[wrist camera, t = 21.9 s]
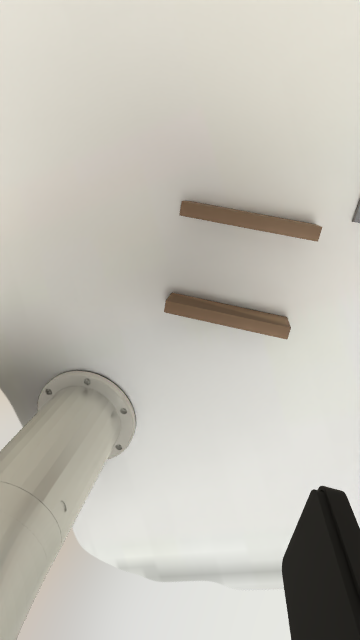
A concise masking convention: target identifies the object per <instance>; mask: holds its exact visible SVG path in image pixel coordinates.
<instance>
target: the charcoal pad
mask: <svg viewBox="0 0 360 640" xmlns="http://www.w3.org/2000/svg"><path fill="white" fill-rule="evenodd" d="M352 222H357V223H360V200H359V203H358V206H357V209H356V211H355V214H354V217H353V220H352Z"/></svg>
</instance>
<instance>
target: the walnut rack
mask: <svg viewBox="0 0 360 640" xmlns="http://www.w3.org/2000/svg"><path fill="white" fill-rule="evenodd" d="M180 215H181V216H186V217H191V218H196V219H202V220H207V221H212V222H217V223H223V224H228V225H233V226H239V227H244V228H249V229H254V230H260V231H265V232H270V233H275V234H281V235H286V236H291V237H296V238H302V239H307V240H312V241H318V239H319V236H320V233H321V230H322V227H321V226H318V225H316V224H311V223H305V222H300V221H294V220H289V219H284V218H278V217H273V216H267V215H262V214H257V213H251V212H246V211H240V210H235V209H229V208H224V207H219V206H213V205H208V204H202V203H197V202H192V201H182V203H181V209H180ZM164 312H166V313H170V314H175V315H179V316H184V317H188V318H193V319H197V320H202V321H206V322H211V323H215V324H220V325H224V326H229V327H233V328H238V329H242V330H247V331H251V332H256V333H260V334H265V335H269V336H274V337H279V338H283V339H288V335H289V332H290V329H291V327H290V324H289V321H288V318H287V317H284V316H279V315H274V314H270V313H265V312H260V311H256V310H251V309H246V308H242V307H237V306H232V305H228V304H223V303H218V302H214V301H209V300H204V299H200V298H195V297H191V296H186V295H181V294H177V293H171V294H170V296H169V297H168V298H167V300H166V303H165V309H164Z"/></svg>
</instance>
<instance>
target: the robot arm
mask: <svg viewBox="0 0 360 640" xmlns="http://www.w3.org/2000/svg"><path fill="white" fill-rule="evenodd" d="M37 411H38V413H37V414H36V415H35V416H34V417H33V418H32V419H31V420H30V421H29V422H28V423H27V424H26V425H25V426H24V427H23V428H22V430H20V431H19V433H18V434H17V435H16V436H15V437H14V438H13V439H12V440H11V441H10V442H9V443H8V444H7V445H6V446H5V447H4V448H3V449H2V450H1V451H0V640H16V639H17V637H18V635H19V632H20V630H21V627H22V625H23V623H24V621H25V619H26V617H27V614H28V612H29V610H30V608H31V606H32V603H33V601H34V599H35V597H36V595H37V593H38V591H39V589H40V587H41V585H42V583H43V581H44V579H45V577H46V575H47V573H48V571H49V569H50V567H51V566H52V563H53V562H54V560H55V558H56V556H57V554H58V552H59V550H60V548H61V547H62V545H63V543H64V541H65V539H66V537H67V535H68V533H69V531H70V529H71V527H72V526H73V524H74V522H75V520H76V518H77V516H78V514H79V512H80V510H81V508H82V506H83V504H84V503H85V501H86V499H87V497H88V495H89V493H90V491H91V489H92V487H93V485H94V483H95V482H96V480H97V478H98V476H99V474H100V472H101V470H102V468H103V466H104V464H105V462H106V461H107V459H111V458H113V457H116V456H117V455H119V454H120V453H122V452H123V451H124V450H125V449H126V448H127V447H128V445H129V443H130V441H131V440H132V437H133V435H134V432H135V426H136V421H135V414H134V410H133V407H132V405H131V403H130V401H129V399H128V398H127V397H126V395H125V394H124V393H123V391H122V390H120V389H119V388H118V387H117V386H116V385H115V384H114V383H112V382H111V381H109V380H108V379H106V378H104V377H102V376H100V375H98V374H94V373H91V372H86V371H70V372H66V373H62V374H60V375H58V376H56V377H55V378H53V379H52V380H51V381H50V382H49V383H48V384H47V385H46V386H45V387H44V388H43V390H42V392H41V393H40V395H39V399H38V405H37ZM282 575H283V583H284V590H285V597H286V604H287V611H288V618H289V626H290V633H291V640H360V528H359V526H358V523H357V521H356V518H355V516H354V513H353V511H352V508H351V506H350V503H349V501H348V498H347V496H346V494H345V493H344V492H343V491H340V490H336V489H332V488H329V487H325V486H320V487H319V488H318V490H312V491H311V493H310V495H309V498H308V500H307V502H306V505H305V507H304V509H303V512H302V514H301V517H300V519H299V521H298V524H297V526H296V529H295V531H294V533H293V536H292V538H291V540H290V543H289V545H288V548H287V550H286V552H285V555H284V557H283V562H282Z"/></svg>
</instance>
